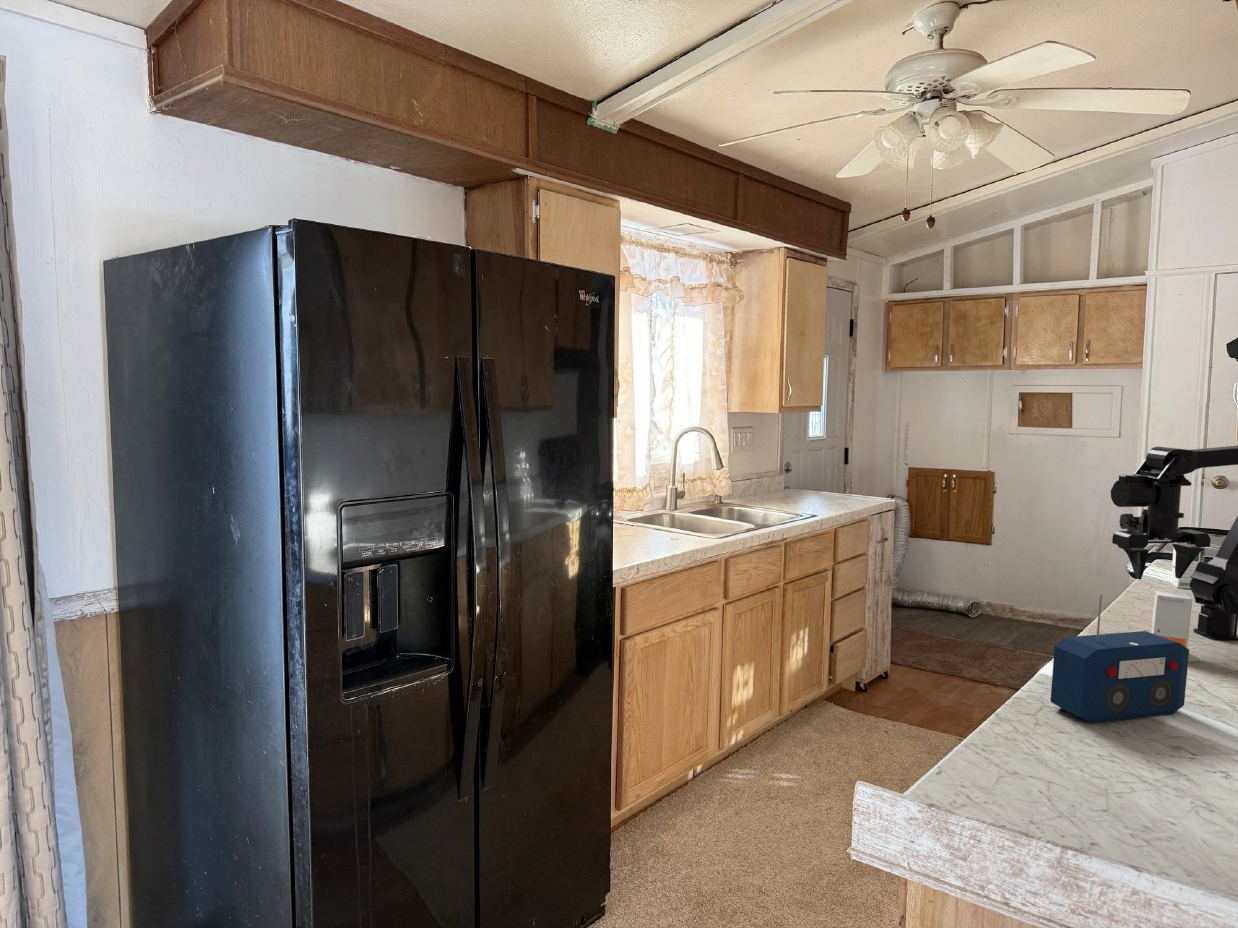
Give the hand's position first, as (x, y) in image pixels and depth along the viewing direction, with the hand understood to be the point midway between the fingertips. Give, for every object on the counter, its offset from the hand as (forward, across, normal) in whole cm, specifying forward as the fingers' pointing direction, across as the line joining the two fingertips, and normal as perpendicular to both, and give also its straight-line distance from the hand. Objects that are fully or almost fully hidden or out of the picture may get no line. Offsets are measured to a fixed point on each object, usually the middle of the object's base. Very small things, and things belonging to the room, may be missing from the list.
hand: (1158, 578), depth 182 cm
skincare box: (+12, +7, +12) cm, 18 cm away
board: (+13, +7, +8) cm, 17 cm away
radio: (+12, +37, +38) cm, 55 cm away
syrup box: (+14, -43, -42) cm, 61 cm away
